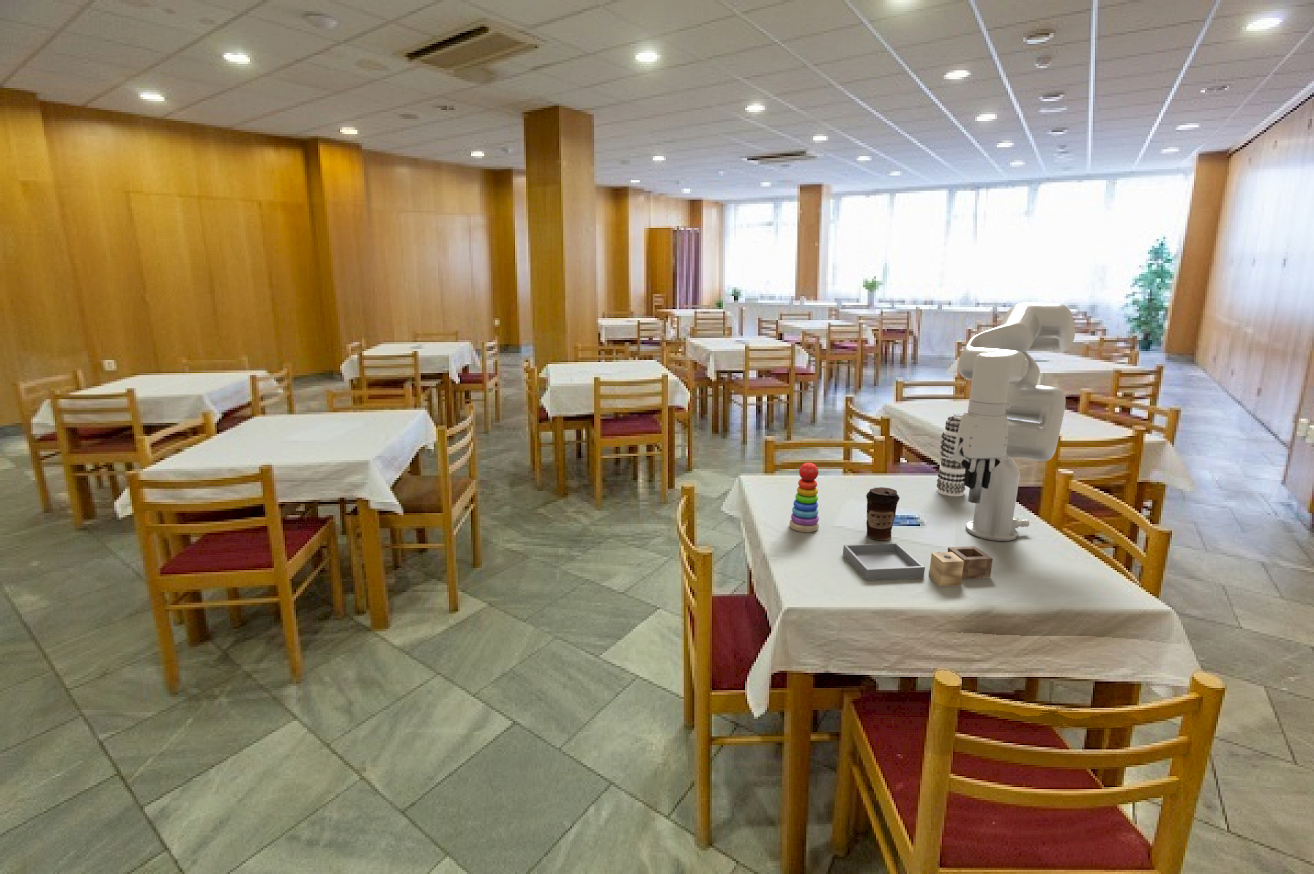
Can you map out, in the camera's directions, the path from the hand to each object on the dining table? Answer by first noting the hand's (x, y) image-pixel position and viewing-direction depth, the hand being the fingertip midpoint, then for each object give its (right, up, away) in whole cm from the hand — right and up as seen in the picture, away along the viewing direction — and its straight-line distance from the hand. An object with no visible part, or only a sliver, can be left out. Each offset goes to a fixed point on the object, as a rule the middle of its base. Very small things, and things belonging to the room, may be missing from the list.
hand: (976, 486), depth 153 cm
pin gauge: (0, -4, +1) cm, 4 cm away
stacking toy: (-33, -14, +30) cm, 47 cm away
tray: (-19, -20, +7) cm, 29 cm away
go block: (0, -21, +5) cm, 21 cm away
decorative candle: (+21, -7, +61) cm, 65 cm away
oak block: (-7, -22, 0) cm, 23 cm away
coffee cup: (-14, -16, +25) cm, 32 cm away
